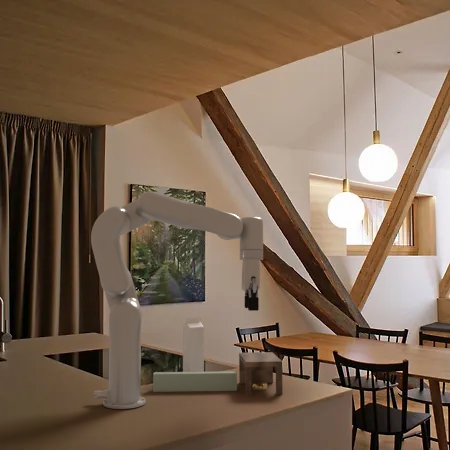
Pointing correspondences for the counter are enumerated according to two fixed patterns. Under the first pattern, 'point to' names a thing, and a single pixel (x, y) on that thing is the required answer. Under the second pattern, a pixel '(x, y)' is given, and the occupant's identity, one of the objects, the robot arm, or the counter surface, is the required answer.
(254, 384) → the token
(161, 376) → the slat
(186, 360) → the milk
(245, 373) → the brown wooden stool
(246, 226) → the robot arm
